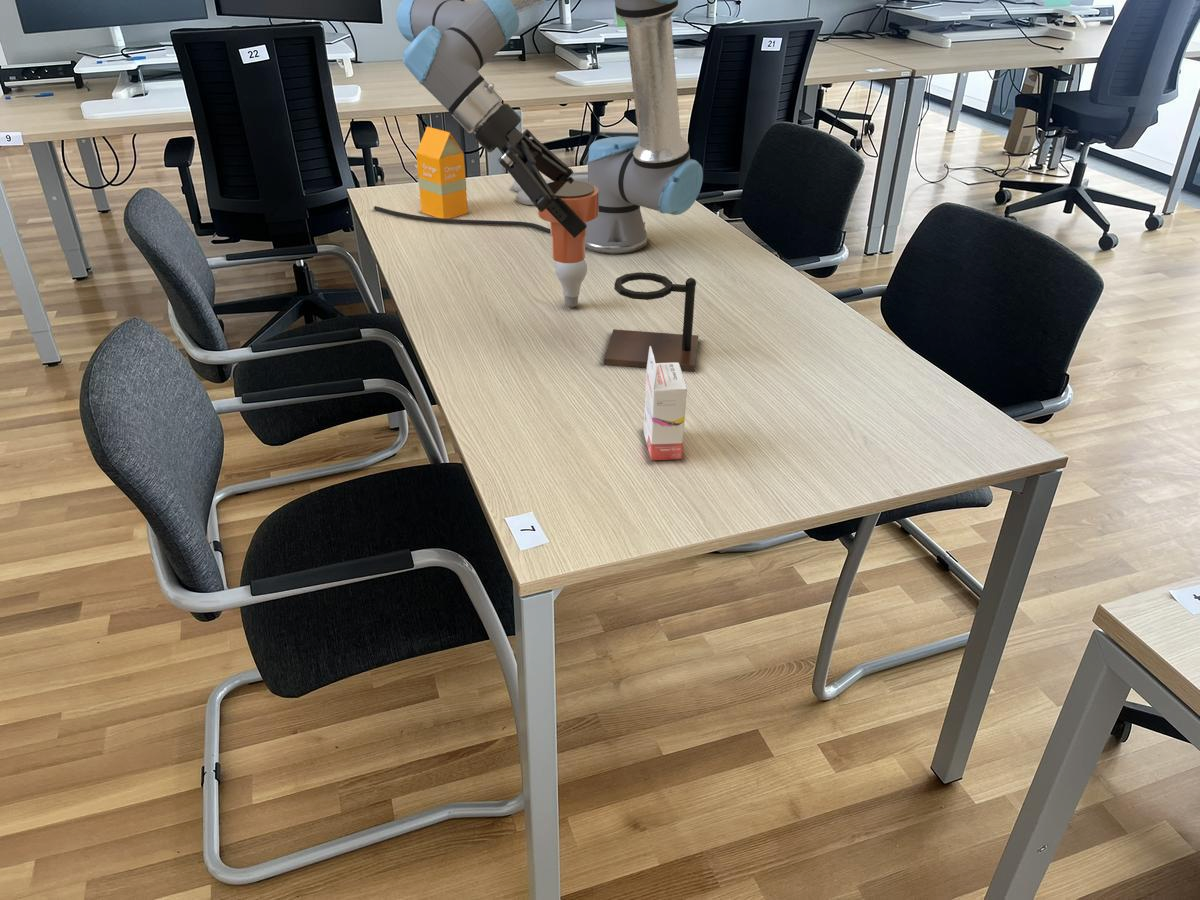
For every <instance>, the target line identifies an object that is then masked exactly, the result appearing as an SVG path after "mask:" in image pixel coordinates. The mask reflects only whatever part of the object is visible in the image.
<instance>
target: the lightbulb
mask: <svg viewBox="0 0 1200 900" xmlns="http://www.w3.org/2000/svg"><path fill="white" fill-rule="evenodd" d="M554 271H555V275H556V277H557V279H558V281H559V283H560V284H561V288H562V295H563V296H564V305H565V306H566V307H568V308H570V309H573V308H574V307H576V306H577V305H578V304H579V295H580V291H581V286H582V283H583V282H584V280H585V278H586V276H587V273H588V264H587V261H586V259H584V260H583V261H580V262H577V263H560V262H557V261H555V266H554Z"/></svg>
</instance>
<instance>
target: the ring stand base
mask: <svg viewBox="0 0 1200 900" xmlns="http://www.w3.org/2000/svg"><path fill="white" fill-rule="evenodd" d="M682 338H683V333H682V334H681V333H669V332H656V331H655V332H654V331H644V330H643V331H642V330H629V329H628V330H627V329H612V332H611V335H610V339H609V341H608V345H607V348H606V352H605V354H604V357H603V365H606V366H617V367H618V366H619V367H632V368H644V369H647V362H648V355H649V348H650V346H651V348H652V351H653V355H654V359H655V363H679V365H680V368H681V371H683V372H695V367H696V360H697V354H698V346H699V338H700V337H699V335H697V334H694V335H693V334H692V341H691V350H690V351H684V350H682ZM651 363H652V362H651Z"/></svg>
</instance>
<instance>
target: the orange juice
mask: <svg viewBox="0 0 1200 900" xmlns="http://www.w3.org/2000/svg"><path fill="white" fill-rule="evenodd" d="M415 156H416V157H415V158H416V165H417V167H416V168H417V176H418V177H417V179H418V181H417V182H418V188H419V198H420V200H419V201H420V209H421V213H423V214H425V215H429V216H430V217H433V218H445V219H454V218H456V217H459V216H463V215H466V214H468V213H469V210H468V194H467V179H466V167H465V166H466V165H465V164H466V163H465V153H464V151H463V149H461V147H460V145H459V143H458V142H457V141H456V139H455V138H454V136H453V135H452V133H451V132H450V131H447V130H442V129H440V128H435V127H431V126H428V125H427V126H426V127H425V130H424V133H423V135H422V137H421V140H420V143H419V145H418V148H417V150H416V152H415Z"/></svg>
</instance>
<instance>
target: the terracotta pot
mask: <svg viewBox="0 0 1200 900" xmlns="http://www.w3.org/2000/svg"><path fill="white" fill-rule="evenodd" d="M547 184H548V186H549V187H550V189H551V191H552V192H553V194H554V195H555V197H556V198H557V197H558V196H559V197H560V198H561V199H562V200H563V201H564V202H565V203H566V204H567V205H568V206H569V207H570V208H571V209H572V211H573V212H574V213H575V214H576V215H577V216H578V217H579V218H580V219H581V220H582V221H583V222H584V223H585V224H586V222H588V221H591V220H594V219H595V218H597V217H598V214H599V189H598V188H597V187H596V186H594V185H592V184H589V183H586V182H581V181H570V180H566V181H555V182H550V183H547ZM537 215H538V217H539V218H540V220H543V221H545V222H549V223H550V224H549V227H550V228H549V229H550V230H551V233H550V237H551V258H552V260H553V261H555V262H560V263H577V262H580V261H583V260H586V248H585V236H586V228H585V229H584V230H583V231H582V232H581V233H580V234H579V235H578V236H576V237H575V238H574V237H573V236H572V235H571V234H570V233H569V232H568V231H567V230H566V229H565V228H564V227H563V226H562V225H561V224H560V223H559V222H558V220H557V219H556V218H555V217H554V216H553V215H552V214H551V213H550V212H549V211H548V210H547V209H545V210H544V211H543V212H541V211H539V210H538V209H537Z"/></svg>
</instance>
